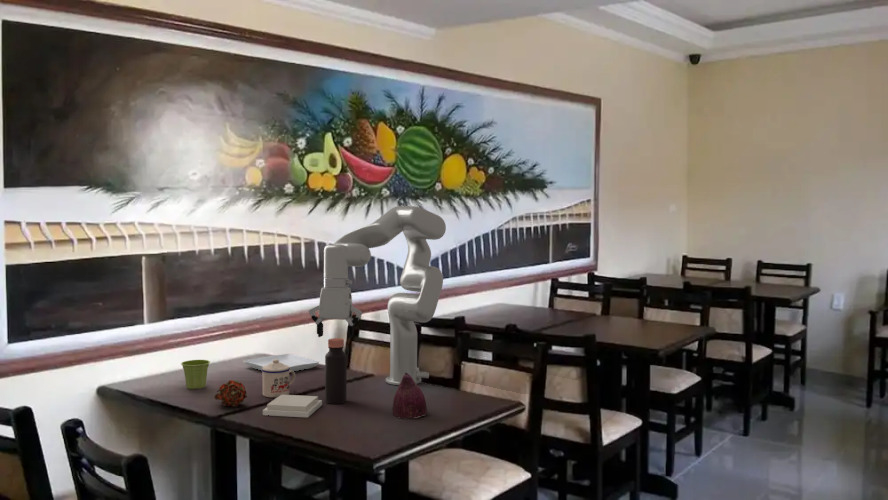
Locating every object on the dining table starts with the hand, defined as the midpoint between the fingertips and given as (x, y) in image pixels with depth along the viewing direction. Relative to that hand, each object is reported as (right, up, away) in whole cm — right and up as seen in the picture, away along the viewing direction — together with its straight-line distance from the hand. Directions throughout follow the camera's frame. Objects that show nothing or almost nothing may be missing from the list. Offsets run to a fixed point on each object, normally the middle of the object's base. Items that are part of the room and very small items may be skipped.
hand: (335, 337), depth 244 cm
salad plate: (-27, -18, +48) cm, 58 cm away
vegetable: (+24, -22, -12) cm, 35 cm away
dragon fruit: (-32, -21, -4) cm, 39 cm away
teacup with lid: (-20, -20, +11) cm, 30 cm away
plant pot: (-50, -19, +18) cm, 57 cm away
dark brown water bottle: (0, -21, +2) cm, 21 cm away
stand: (-12, -21, -9) cm, 26 cm away
